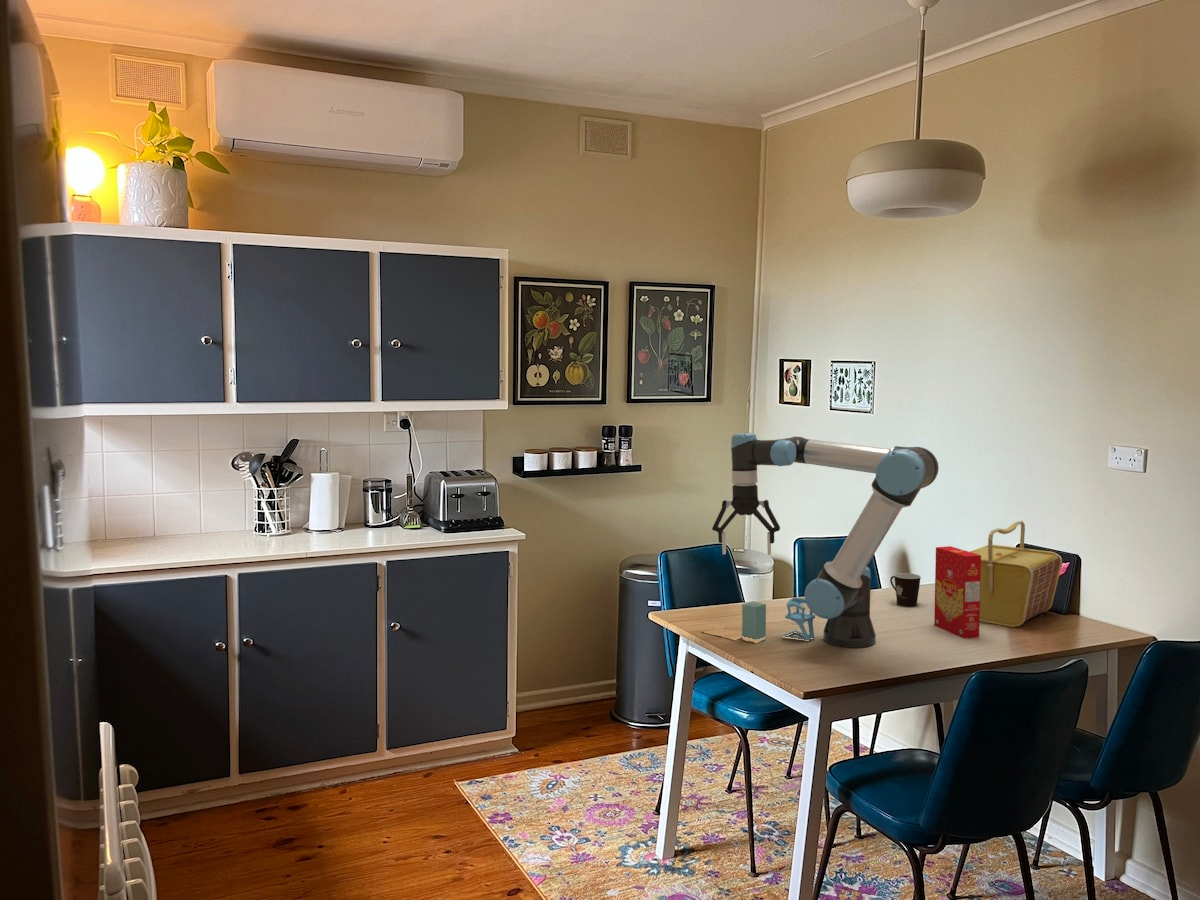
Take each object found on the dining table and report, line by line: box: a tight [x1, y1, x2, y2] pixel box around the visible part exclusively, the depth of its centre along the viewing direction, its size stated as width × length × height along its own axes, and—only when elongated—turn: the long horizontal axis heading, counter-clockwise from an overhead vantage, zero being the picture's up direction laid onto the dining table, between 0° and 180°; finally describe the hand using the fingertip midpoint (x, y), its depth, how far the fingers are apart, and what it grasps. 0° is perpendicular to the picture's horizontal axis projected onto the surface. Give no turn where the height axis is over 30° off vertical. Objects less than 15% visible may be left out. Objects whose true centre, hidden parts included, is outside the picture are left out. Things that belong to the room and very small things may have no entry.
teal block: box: [741, 601, 767, 640], centre depth 274 cm, size 5×5×11 cm
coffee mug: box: [889, 572, 922, 608], centre depth 315 cm, size 12×9×10 cm
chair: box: [781, 597, 816, 641], centre depth 276 cm, size 8×8×12 cm
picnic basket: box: [969, 520, 1063, 628], centre depth 298 cm, size 29×26×30 cm
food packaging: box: [933, 545, 981, 639], centre depth 281 cm, size 15×5×25 cm, turn 14°
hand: (746, 554), depth 278 cm, fingers open, 13 cm apart
